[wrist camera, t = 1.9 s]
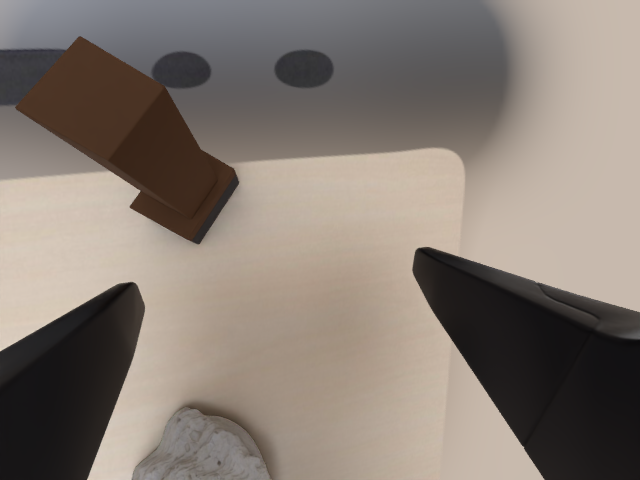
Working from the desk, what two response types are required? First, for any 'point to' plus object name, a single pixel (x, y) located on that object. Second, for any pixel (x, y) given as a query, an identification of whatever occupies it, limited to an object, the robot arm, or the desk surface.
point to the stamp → (132, 137)
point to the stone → (203, 451)
